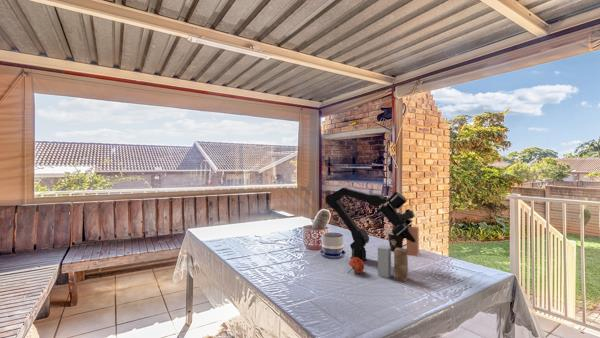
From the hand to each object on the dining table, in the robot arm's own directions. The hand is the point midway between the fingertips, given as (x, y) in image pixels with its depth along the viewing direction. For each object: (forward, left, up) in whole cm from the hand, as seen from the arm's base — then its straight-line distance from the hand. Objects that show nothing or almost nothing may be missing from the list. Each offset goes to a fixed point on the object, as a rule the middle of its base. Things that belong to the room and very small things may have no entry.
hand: (415, 240), depth 131 cm
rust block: (-1, +1, -7) cm, 7 cm away
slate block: (-18, -3, -13) cm, 23 cm away
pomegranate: (-29, +3, -14) cm, 32 cm away
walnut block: (-13, -8, -13) cm, 20 cm away
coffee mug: (+8, +28, -14) cm, 32 cm away
